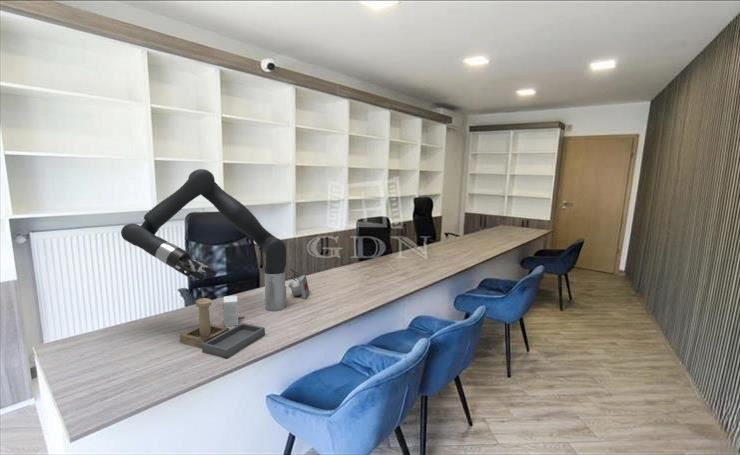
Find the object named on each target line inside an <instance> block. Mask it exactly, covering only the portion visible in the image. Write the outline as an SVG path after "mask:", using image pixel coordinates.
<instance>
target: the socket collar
mask: <svg viewBox="0 0 740 455" xmlns="http://www.w3.org/2000/svg"><path fill="white" fill-rule="evenodd" d="M210 326H211V330H210V336H209V337H207V338H205V339H204V338H201V336H200V331H199V325H198V326H195V327H194V328H192V329H190V330H188V331H186V332H184V333H181V334H179V344H183V345H187V346H192V347H194V348H199V349H202V344H203V343H205V342H207V341H209V340H211V339H213V338H214V337H216V336H218V335H220V334H222V333H224V332H226V331H228V330H230V328H229V327H224V326H220V325H216V324H211V323H210Z"/></svg>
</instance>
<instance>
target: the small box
mask: <svg viewBox="0 0 740 455" xmlns="http://www.w3.org/2000/svg"><path fill="white" fill-rule="evenodd" d="M238 299H239V298H238V295H227V296H223V301H222V305H223V306H222V307H223V308H222V309H223V327H226V328H229V327H233V326H234V327H236V326H237V325H239V306H238V305H239V304H238V301H239V300H238Z"/></svg>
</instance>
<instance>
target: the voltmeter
mask: <svg viewBox="0 0 740 455" xmlns="http://www.w3.org/2000/svg"><path fill="white" fill-rule="evenodd" d="M289 270H290V271H291V272H293V273H294V275H293V276H291V277H290V279H292V280H293V281H291V282H290V283H289V284H288V287H289V288H290V291H291V293H292V295H293V297H297V296H298V297H299V296H300V298H301V299H303V300H305V299H307V297H308V296H309V294H310V288H309V284H308V279H307V276H306V275H305V274H303V275H301V277H300V273H298V272H296V271H295V270H292V269H291V268H290V269H289Z"/></svg>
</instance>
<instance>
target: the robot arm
mask: <svg viewBox="0 0 740 455" xmlns="http://www.w3.org/2000/svg"><path fill="white" fill-rule="evenodd" d="M199 196H202V197H203V198H204V199H206V200H207V201H208V202H210V204H212V205H213V206H214V208H215V209H217V211H218V212H219V213H220V214H221V215H222V216H223V217H224V218H225V219H226V220H227V221H228V222H229V223H230V224H232V225H233V226H234V227H235V228H236V229H237V230H238V231H240V232H241V233H243V234H244V235H246V236H248V238H250V239H251V240H252V241H253V242H255V244H257V246H258V247H259V248H260V249H261V251H263V253H264V254H265V265H264V266H263V267H264V297H265V298H264V305H265V308H264V309H265V310H267V311H271V312H272V311H274V312H276V311H282V310H284V309H285V308H286V306H287V286H286V265H287V246H286V243H285V242H284V241H283V240H281V239H280V238H278V237H276V236H275V235H274V234H272V233H271V232H270V231H269V230H267V229H266V228H264V226H262V224H261V223H260V221H259V220H258V218H257V217H256V216H255V215H254V214H253V213H252V212H251V210H249V209H248V208H247V207H246V206H245V205H244V204H243V203H241V201H239V200H237V199H236V198H234V197H233V196H232V195H230V194H228V193H227V192H225V190H224V189H222V187H221V186H220V185H219V184H217V182H216V180H215V176H214V174H213V173H212V172H211V171H209V170H207V169H203V168H201V169H199V168H198V169H195V170H194V171H193V170H192V172H191V173H190V174H189V175H188V179H187V180H186V181H185V182H184V184H183V185H182V186H180V187H179V188H178V189H177V190H176V191H175V192H173V193H172V194H170V195H169V196H167V197H165V199H163V200H161V201H159V203H157V204H156V205H155V206H154V207H152V209H150V210H149V211H148V212H146V213H145V214H144V216H143V220H144V221H143V222H142V223H141V225H139V224H137V223H128V224H125V225H124V226H123V227H122V228H121V231H120V234H121V238H122V239H123V240H124V241H125V242H127V243H129V244H131V245H133V246H135V247H138V248H140V249H142V250H143V251H144V252H146V253H147V254H149V255H150V256H152V257H154V258H156V259H157V260H158V261H160V262H161V263H164V264H165V265H167V266H169V267H170V268H172V269H173V270H175V271H177V272H178V273H180V274H182V275H184V276H185V277H193V278H196V279H197V280H199V281H200V282H203V281H204V280H205V278H206V275H205V274H208V275H209V276H211V277H213V278H214V277H216V275H217V273H218V272H217V271H216V270H214V269H213V268H211V264H210V263H207V262H205V261H203V260H202V259H200V258H197V257H196V259H194V258H191V254H190V252H189V251H187V250H185V249H183V248H181V247H179V246H178V245H176V244H173V243H171V242H169V241H167V240H165V239H163V238H161V237H159V236H157V235H156V234H157V232H158V231H159V230H160V229H161V227H163V226H164V225H165V224H166V223H167V222H169V221H170V219H172V218H173V217H174V216H175V215H177V213H179V212H180V211H181V210H182V209H183V208H184V207H185V206H187V204H189V203H190V202H192V201H193V200H194V199H196V198H198V197H199ZM202 272H203V273H202ZM204 273H205V274H204Z"/></svg>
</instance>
